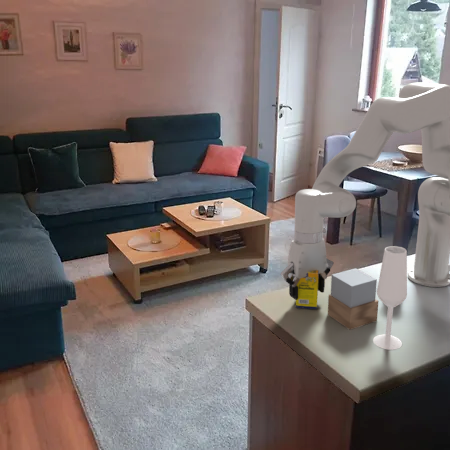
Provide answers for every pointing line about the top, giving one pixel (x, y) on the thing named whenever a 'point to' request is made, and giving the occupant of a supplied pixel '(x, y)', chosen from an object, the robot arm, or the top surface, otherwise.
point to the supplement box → (308, 291)
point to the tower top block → (353, 287)
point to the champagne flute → (392, 291)
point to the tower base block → (352, 313)
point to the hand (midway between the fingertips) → (306, 293)
